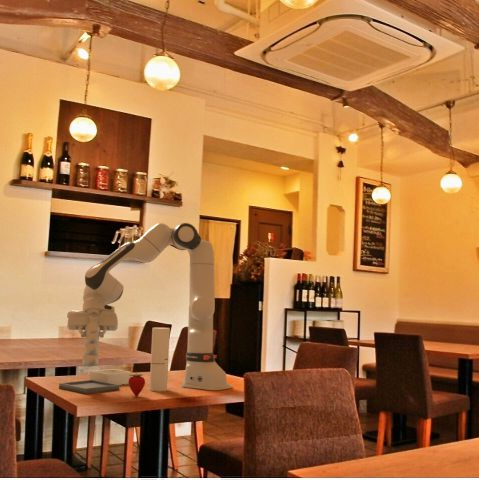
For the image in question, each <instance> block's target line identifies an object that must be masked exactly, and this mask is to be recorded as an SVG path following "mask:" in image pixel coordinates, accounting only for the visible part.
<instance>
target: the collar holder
mask: <svg viewBox="0 0 479 480" xmlns="http://www.w3.org/2000/svg"><path fill="white" fill-rule="evenodd" d="M130 375H132V371H128V370H121V369H116V368H111V369H100V370H99V369H97V370H90V371H89V380H97V381H102V382H108V383H113V384H118V385H120V386H123V385H122V384H124V385H129V379H130V377H132V376H130Z"/></svg>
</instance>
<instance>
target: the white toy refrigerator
mask: <svg viewBox="0 0 479 480" xmlns="http://www.w3.org/2000/svg"><path fill="white" fill-rule="evenodd" d="M170 330H171V329H170V327H152V331H151V348H150V353H151V354H150V374H149V390H148V391H151V392H166V391H168V380H169V377H168V376H169V352H170V334H171V333H170Z"/></svg>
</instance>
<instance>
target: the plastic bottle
mask: <svg viewBox="0 0 479 480" xmlns="http://www.w3.org/2000/svg"><path fill="white" fill-rule="evenodd" d="M97 321H98V317H95V316H89V323H88V324H87V326H86V327H85V330H84V332H85V337H84V350H83V355H82V364H83V366H85V367H88V368H89V367H96V366H97V365H98V364H99V360H100V358H99V342H100V332H102V330H101V329H100V326H99V324H98V323H97Z"/></svg>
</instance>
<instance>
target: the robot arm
mask: <svg viewBox="0 0 479 480" xmlns="http://www.w3.org/2000/svg"><path fill="white" fill-rule="evenodd" d="M169 246H170V247H173V248H175V249H177V250H179V251H187V252H188V254H189V295H188V296H189V298H188V299H189V300H188V302H189V305H188V321H187V322H188V323H187V324H188V325H187V350H186V353H185V361H186V363H185V364H186V365H185V371H184V375H183V381H182V384H181V385H182V387H183V388H189V389H198V390H207V391H221V390H228V389H232V388H233V385H232V384H229V383H228V381H227V379H228V378H227V377H228V376H227V373H226V371H224V370H223V368H222V367H220V366H219V365H218V363H217V362H216V359H217V358H218V357H217V356H218V355H217V354H214V352H213V345H214V344H213V343H214V341H213V339H214V313H215V308H216V307H215V306H216V305H215V303H216V301H215V297H216V296H215V295H216V294H215V254H214V252H215V251H214V246H213V244H212V243H211V242H210V241H209V240H205V239H202V237H201V236H200V234H199V232H198V230H197V229H196V228H195V226H194V225H193V224H191V223H188V222H182V223H180V224H178V225H177V226H176V227H175V228H172V227H170V226H168V225H167V224H166V223H163V222H159V223H156V224H155V225H153V226H152V227H150V228H149V229H148V230H147V231H146V232H145V233H144V234H143V235H142V236H141V237H139V238H138V239H137V240H135V241H128V242H125V243H124V244H122V245H121V246H120V247H118V248H117V249H115V251H113V252H112V253H110V254H109V255H107V257H105V258H103V260H101V261H100V262H98V263H97V264H95V265H93V266H91V267H90V268H89V269H88V270H87V271H86V272H85V274H84V282H85V288H84V291H83V296H82V301H83V304H82V310H71V311H69V312H67V319H68V320H67V326H66V327H67V329H68V330H69V331H78V333H79V334H80V338H85V327H86V326H87V324H88V323H89V316H95V317H98V321H97V323H98V324H99V326H100V329H101V332H100V337H99V339H100V338H104V337H105V334H106V333H107V331H109V332H110V331H111V332H113V331H114V332H115V331H117V330H118V327H119V326H118V325H119V322H118V321H119V320H118V315H117V313H116V311H115V306H112V305H110V304H112V303H116V302H117V301H118V300H120V299H121V298H122V295H123V292H124V285H123V284H122V283H121V281H119V280H118V279H117V278H116V277H114V276H113V275H112V274H111V273H110V272H111V271H112V270H113V269H114V268H115V267H117V266H118V265H119V264H120V263H121V262H123V261H124V260H129V259H131V260H134V261H137V262H141V263H151V262H153V261H155V260H156V259H157V258H158V256H160V255H161V254H162V252H163V251H164V250H165V249H166V248H167V247H169Z"/></svg>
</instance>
